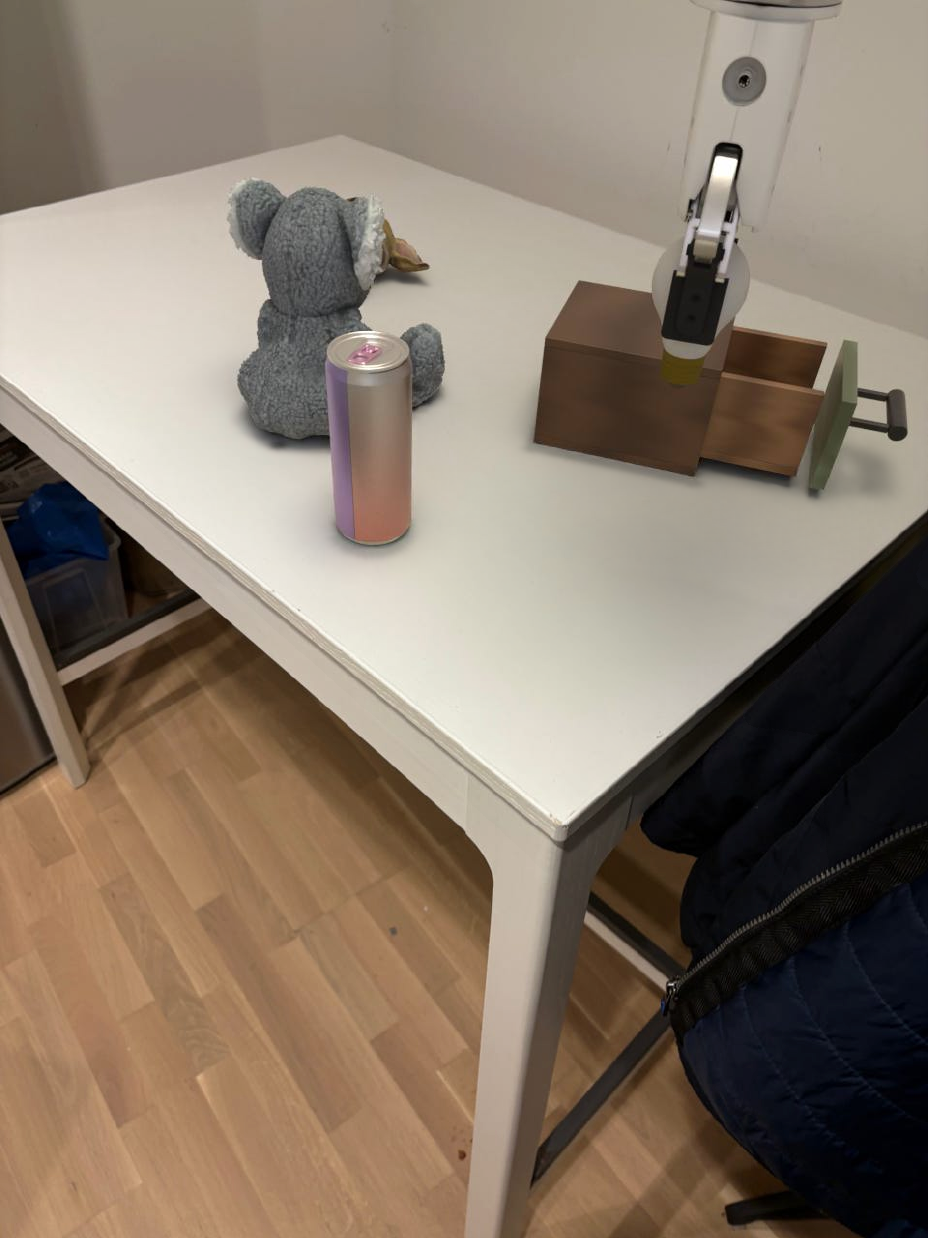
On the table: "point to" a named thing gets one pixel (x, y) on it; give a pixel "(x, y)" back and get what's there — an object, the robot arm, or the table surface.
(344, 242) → the koala plush
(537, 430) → the cabinet
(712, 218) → the robot arm
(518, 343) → the table surface
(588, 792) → the table surface
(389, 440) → the beverage can
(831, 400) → the drawer
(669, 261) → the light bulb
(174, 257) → the table surface
